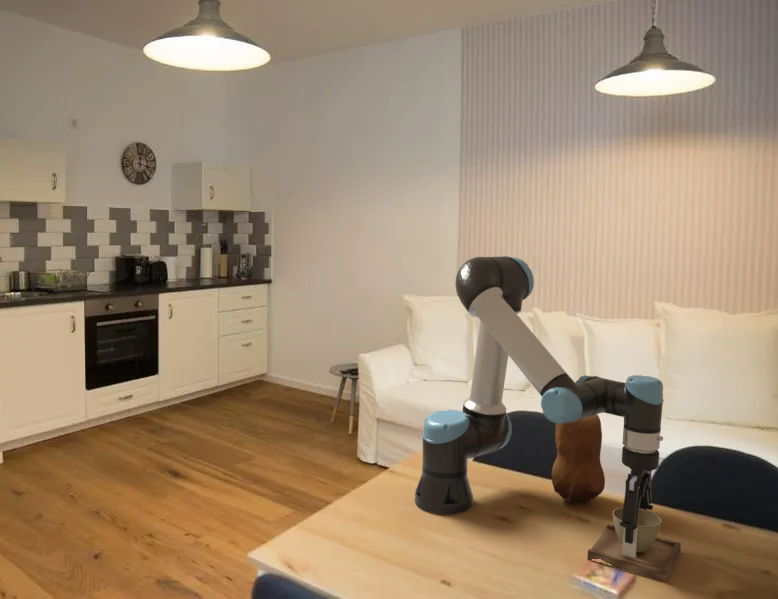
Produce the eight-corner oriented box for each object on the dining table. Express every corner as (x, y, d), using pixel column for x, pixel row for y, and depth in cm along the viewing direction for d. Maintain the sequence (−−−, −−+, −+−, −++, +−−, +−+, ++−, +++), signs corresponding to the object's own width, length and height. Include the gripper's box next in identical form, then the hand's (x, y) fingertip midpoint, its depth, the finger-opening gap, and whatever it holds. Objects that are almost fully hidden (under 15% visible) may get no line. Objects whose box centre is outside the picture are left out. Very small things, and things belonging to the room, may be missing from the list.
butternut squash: (575, 487, 181) (579, 400, 179) (614, 505, 170) (619, 412, 167) (539, 497, 174) (543, 406, 171) (577, 516, 162) (581, 418, 160)
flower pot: (663, 560, 136) (666, 528, 136) (614, 555, 138) (616, 523, 138) (654, 539, 146) (656, 509, 145) (608, 534, 148) (609, 504, 147)
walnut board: (587, 559, 140) (587, 550, 140) (607, 532, 153) (608, 524, 153) (666, 582, 131) (666, 572, 131) (680, 551, 145) (680, 542, 144)
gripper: (647, 466, 129) (640, 572, 131) (669, 438, 147) (663, 532, 149) (609, 458, 133) (603, 561, 135) (635, 432, 151) (629, 523, 154)
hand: (634, 546), depth 142 cm, fingers closed on flower pot, 10 cm apart
